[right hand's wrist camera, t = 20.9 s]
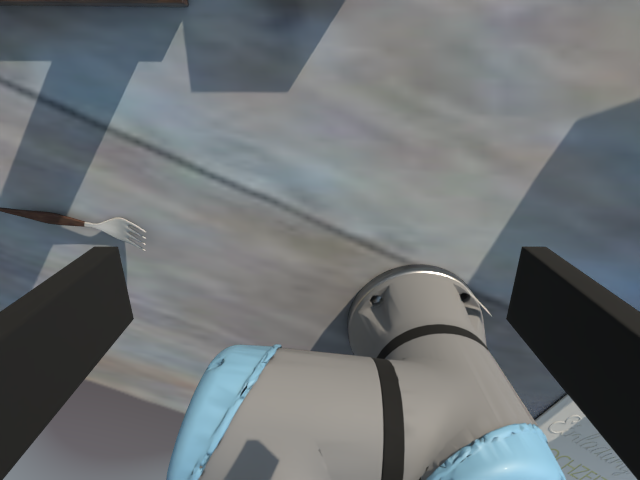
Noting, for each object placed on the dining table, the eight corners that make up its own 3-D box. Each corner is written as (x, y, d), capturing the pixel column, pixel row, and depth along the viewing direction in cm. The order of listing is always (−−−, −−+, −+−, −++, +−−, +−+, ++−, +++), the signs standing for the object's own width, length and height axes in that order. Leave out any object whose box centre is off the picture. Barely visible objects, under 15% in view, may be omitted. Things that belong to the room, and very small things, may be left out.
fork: (-5, 194, 38) (-21, 200, 36) (153, 223, 39) (145, 230, 38) (-1, 218, 39) (-17, 224, 37) (153, 245, 40) (145, 253, 39)
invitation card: (486, 461, 53) (569, 395, 48) (485, 459, 53) (568, 393, 48) (586, 515, 58) (671, 460, 53) (585, 513, 58) (669, 458, 53)
